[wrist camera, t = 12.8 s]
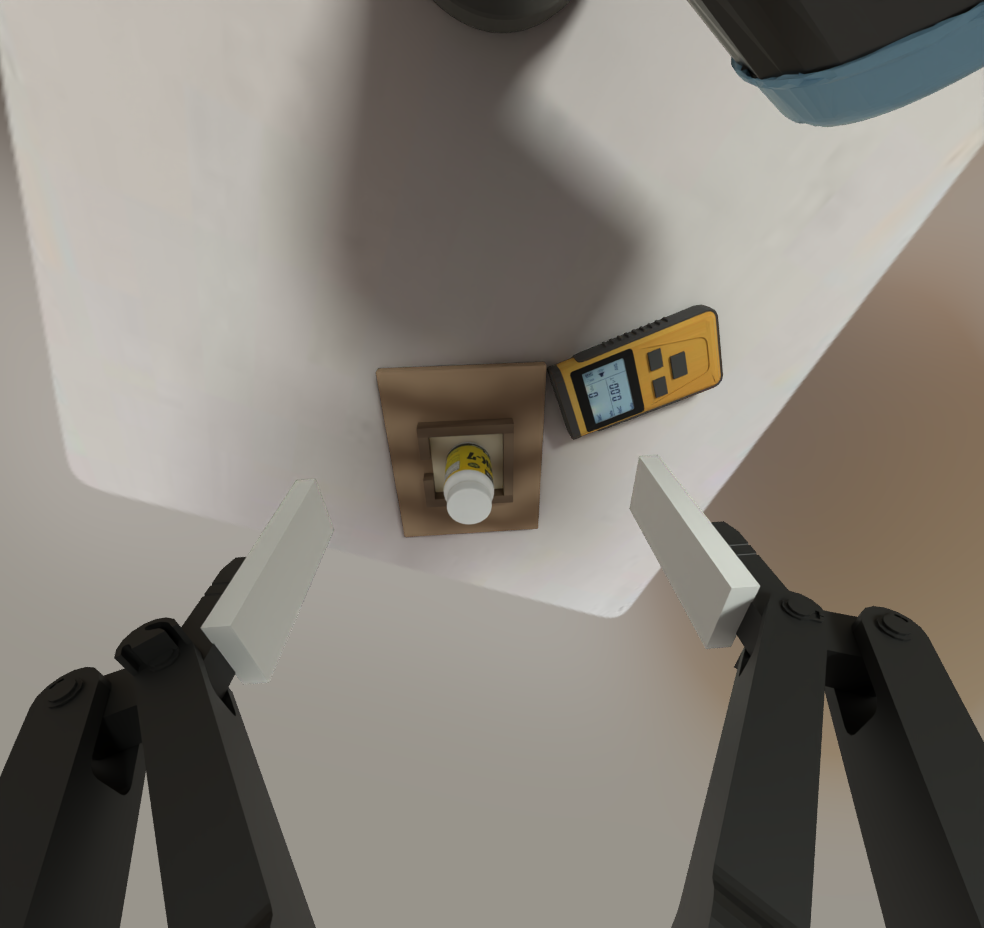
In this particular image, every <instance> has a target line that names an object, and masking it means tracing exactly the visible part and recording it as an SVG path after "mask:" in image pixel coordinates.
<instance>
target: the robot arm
mask: <svg viewBox="0 0 984 928" xmlns="http://www.w3.org/2000/svg"><path fill="white" fill-rule="evenodd" d="M434 1H435V2H436V3H437V4H438V5H439V6H440V7H441V8H442V9H443V10H445V11H446V12H447V13H449V14H450V15H451V16H453V17H454V18H456V19H458V20H459V21H461V22H463V23H465V24H467V25H469V26H472V27H474V28H477V29H481V30H484V31H489V32H499V33H506V32H516V31H521V30H524V29H528V28H530V27H533V26H536V25H538V24H540V23H542V22H544V21H545V20H547V19H548V18H550V17H552V16H553V15H554V14H556V13H557V12H558V11H559V10H561V9H562V8H563V7H564V6H565V5H566V4H567V3H568V2H569V1H570V0H434ZM687 1H688V2H689V4H690V5H691V6H692V7H693V9H694V10H695V11H696V12H697V14H698V15H699V16H700V18H701V19H702V20H703V21H704V23H705V24H706V25H707V26H708V28H709V29H710V30H711V31H712V33H713V34H714V35H715V37H716V38H717V39H718V40H719V42H720V43H721V44H722V45H723V47H724V48H725V49H726V50H727V52H728V53H729V54H730V56H731V65H732V67H733V68H734V70H735V71H736V73H737V74H738V76H740V77H741V78H742V79H743V80H744V81H745V82H748V83H750V84H752V85H755V86H757V87H758V88H759V89H760V90H761V91H762V92H763V93H764V94H765V95H766V97H767V98H768V99H769V100H770V101H771V102H772V103H773V104H774V105H775V106H776V108H777V109H778V110H779V111H780V112H781V113H782V114H783V115H784V116H785V117H787V118H788V119H790V120H792V121H794V122H796V123H806V124H810V125H813V126H822V127H833V126H840V125H846V124H851V123H856V122H860V121H864V120H867V119H870V118H873V117H877V116H879V115H882V114H885V113H888V112H891V111H893V110H896V109H899V108H901V107H904V106H906V105H908V104H911V103H913V102H915V101H917V100H920V99H922V98H924V97H926V96H928V95H930V94H933V93H935V92H937V91H939V90H941V89H943V88H945V87H947V86H949V85H951V84H953V83H955V82H956V81H958V80H960V79H962V78H964V77H966V76H968V75H970V74H971V73H973V72H975V71H977V70H979V69H981V68H982V67H984V0H687ZM630 511H631V512H632V514H633V516H634V518H635V520H636V522H637V523H638V525H639V527H640V529H641V531H642V533H643V534H644V536H645V538H646V540H647V542H648V544H649V545H650V547H651V549H652V551H653V553H654V555H655V556H656V558H657V560H658V562H659V564H660V566H661V567H662V569H663V571H664V573H665V575H666V577H667V578H668V580H669V582H670V584H671V586H672V587H673V589H674V591H675V593H676V595H677V597H678V599H679V601H680V602H681V604H682V606H683V608H684V610H685V611H686V613H687V615H688V617H689V619H690V621H691V623H692V624H693V626H694V628H695V630H696V632H697V634H698V635H699V637H700V639H701V641H702V643H703V645H704V646H705V648H706V649H709V648H723V647H731V646H732V644H733V641H734V639H735V637H736V635H737V636H738V637H739V639H740V640H741V642H742V644H743V645H744V649H743V651H742V653H741V655H740V656H739V659H738V660H737V662H736V664H735V666H734V667H735V668H736V669H737V673H736V677H735V681H734V685H733V689H732V693H731V697H730V702H729V705H728V710H727V714H726V718H725V722H724V726H723V730H722V734H721V738H720V742H719V746H718V751H717V755H716V758H715V763H714V767H713V771H712V775H711V779H710V783H709V787H708V791H707V795H706V799H705V803H704V807H703V811H702V816H701V820H700V824H699V828H698V832H697V836H696V841H695V844H694V848H693V852H692V857H691V860H690V864H689V869H688V873H687V877H686V881H685V885H684V889H683V893H682V897H681V901H680V905H679V908H678V912H677V914H676V917H675V920H674V922H673V924H672V927H671V928H810V922H811V906H812V888H813V873H814V856H815V840H816V823H817V807H818V790H819V774H820V757H821V740H822V724H823V707H824V691H825V694H826V698H827V702H828V705H829V709H830V712H831V717H832V721H833V725H834V728H835V732H836V736H837V740H838V744H839V748H840V751H841V756H842V760H843V763H844V767H845V771H846V775H847V779H848V783H849V786H850V790H851V794H852V798H853V802H854V806H855V809H856V813H857V817H858V821H859V825H860V829H861V833H862V837H863V841H864V844H865V848H866V852H867V856H868V860H869V864H870V868H871V872H872V875H873V879H874V883H875V887H876V891H877V894H878V898H879V902H880V906H881V910H882V914H883V918H884V921H885V926H886V928H984V742H983V740H982V738H981V736H980V734H979V732H978V730H977V728H976V727H975V725H974V723H973V721H972V719H971V717H970V715H969V713H968V711H967V709H966V708H965V706H964V704H963V702H962V700H961V698H960V696H959V694H958V692H957V691H956V689H955V687H954V685H953V683H952V681H951V679H950V677H949V675H948V673H947V672H946V670H945V668H944V666H943V664H942V662H941V660H940V658H939V656H938V654H937V653H936V651H935V649H934V647H933V645H932V643H931V641H930V639H929V637H928V636H927V635H926V633H925V632H924V631H923V630H922V628H921V627H920V626H918V625H917V624H916V623H915V622H913V621H912V620H911V619H909V618H907V617H906V616H904V615H902V614H900V613H898V612H896V611H893V610H890V609H887V608H884V607H876V606H872V607H868V608H865V609H864V610H863V611H862V612H861V614H860V615H859V616H858V617H855V616H849V615H844V614H839V613H833V612H828V611H824V610H822V608H821V607H820V606H819V605H818V604H816V603H815V602H814V601H813V600H811V599H809V598H807V597H805V596H803V595H802V594H799V593H795V592H792V591H789V590H788V589H787V588H786V587H785V586H784V585H783V583H782V582H781V581H780V580H779V579H778V577H777V576H776V575H775V574H774V573H773V572H772V570H771V569H770V568H769V567H768V566H767V564H766V563H765V562H764V561H763V560H762V559H761V557H760V556H759V555H756V551H755V550H754V549H753V548H752V547H751V546H750V545H748V542H747V541H746V540H745V539H744V537H743V536H742V535H741V534H740V533H739V532H738V531H737V530H736V529H734V528H733V527H731V526H730V525H728V524H727V523H725V522H724V521H723V522H710V521H709V520H708V518H707V517H706V516H705V515H704V513H703V512H702V511H701V510H700V508H699V507H698V506H697V504H696V503H695V502H694V501H693V499H692V498H691V497H690V495H689V494H688V493H687V492H686V490H685V489H684V488H683V487H682V485H681V484H680V483H679V481H678V480H677V479H676V478H675V476H674V475H673V474H672V472H671V471H670V470H669V469H668V467H667V466H666V465H665V464H664V462H663V461H662V460H661V458H660V457H659V456H658V455H650V456H639V460H638V465H637V471H636V476H635V482H634V487H633V493H632V498H631V504H630ZM333 531H334V529H333V526H332V523H331V520H330V518H329V515H328V512H327V509H326V507H325V504H324V501H323V498H322V496H321V493H320V490H319V487H318V484H317V482H316V479H306V480H296V481H295V483H294V485H293V486H292V488H291V489H290V491H289V492H288V494H287V495H286V497H285V498H284V500H283V502H282V503H281V505H280V506H279V508H278V509H277V511H276V512H275V514H274V515H273V517H272V519H271V520H270V522H269V523H268V525H267V526H266V528H265V529H264V531H263V532H262V534H261V535H260V537H259V539H258V540H257V542H256V543H255V545H254V546H253V548H252V550H251V551H250V553H249V554H248V556H247V557H238V558H235V559H234V560H232V561H231V562H230V563H229V564H228V565H226V566H225V567H224V568H223V569H222V570H221V571H220V572H219V574H218V575H217V577H216V578H215V580H214V581H213V583H212V586H210V587H209V588H208V590H207V591H206V593H205V596H204V597H202V598H201V600H200V601H199V603H198V604H197V606H196V607H195V608H194V610H193V611H192V613H191V614H190V616H189V617H188V619H187V620H186V621H185V623H184V624H183V626H182V627H180V626H179V624H178V623H177V622H176V621H175V619H171V618H160V619H155V620H153V621H150V622H148V623H145V624H143V625H142V626H140V627H139V628H137V629H136V630H134V631H132V632H131V633H130V634H129V635H128V636H127V637H126V638H125V639H124V640H123V641H122V642H121V643H120V645H119V646H118V648H117V649H116V653H115V657H114V658H115V659H116V660H117V661H118V662H119V663H120V664H121V665H122V666H123V667H124V668H125V669H122V670H119V671H116V672H113V673H110V674H107V675H104V676H103V675H102V674H101V673H100V672H99V671H98V670H96V669H95V668H93V667H84V668H80V669H77V670H74V671H71V672H69V673H67V674H66V675H63V676H62V677H60V678H58V679H57V680H56V681H54V682H53V683H51V684H50V685H49V686H47V687H46V688H45V689H44V690H43V691H42V692H41V693H40V694H39V695H38V696H37V697H36V699H35V700H34V702H33V704H32V705H31V707H30V709H29V711H28V713H27V716H26V718H25V721H24V723H23V725H22V727H21V730H20V732H19V734H18V736H17V739H16V741H15V744H14V746H13V748H12V751H11V753H10V755H9V758H8V760H7V762H6V764H5V767H4V769H3V771H2V774H1V776H0V928H120V923H121V917H122V911H123V905H124V899H125V893H126V887H127V881H128V875H129V869H130V863H131V857H132V851H133V845H134V839H135V833H136V827H137V821H138V815H139V809H140V803H141V797H142V790H143V785H144V778H145V773H147V780H148V787H149V794H150V801H151V809H152V816H153V823H154V830H155V837H156V844H157V852H158V858H159V866H160V872H161V880H162V887H163V894H164V901H165V909H166V915H167V923H168V928H316V927H315V924H314V921H313V919H312V916H311V913H310V910H309V907H308V904H307V902H306V899H305V896H304V893H303V890H302V887H301V885H300V882H299V879H298V876H297V873H296V870H295V868H294V865H293V862H292V859H291V856H290V854H289V851H288V848H287V845H286V843H285V839H284V837H283V834H282V831H281V828H280V825H279V822H278V820H277V817H276V814H275V811H274V808H273V806H272V803H271V800H270V797H269V794H268V791H267V789H266V786H265V783H264V780H263V777H262V774H261V772H260V769H259V766H258V764H257V760H256V757H255V755H254V752H253V749H252V746H251V743H250V740H249V738H248V735H247V732H246V729H245V726H244V723H243V721H242V718H241V715H240V712H239V709H238V706H237V704H236V701H235V698H234V695H233V692H232V691H231V690H230V689H229V685H230V683H231V681H232V679H233V677H234V675H236V676H237V677H238V678H239V680H240V681H241V682H242V684H256V683H269V681H270V679H271V677H272V674H273V672H274V669H275V667H276V665H277V662H278V660H279V658H280V655H281V653H282V651H283V648H284V646H285V644H286V641H287V639H288V637H289V634H290V632H291V630H292V627H293V625H294V623H295V620H296V618H297V616H298V613H299V611H300V608H301V606H302V604H303V602H304V599H305V597H306V595H307V592H308V590H309V587H310V585H311V583H312V580H313V578H314V576H315V573H316V571H317V569H318V566H319V564H320V562H321V559H322V557H323V555H324V552H325V550H326V548H327V545H328V543H329V541H330V538H331V536H332V534H333Z"/></svg>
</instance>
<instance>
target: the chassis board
mask: <svg viewBox="0 0 984 928" xmlns="http://www.w3.org/2000/svg"><path fill="white" fill-rule="evenodd" d="M546 366H547V365H546V364H545V362H527V363H502V364H478V365H453V366H429V367H405V368H380V369H378V370H377V371H376V376H377V382H378V387H379V393H380V399H381V404H382V410H383V416H384V421H385V427H386V433H387V439H388V444H389V450H390V456H391V461H392V467H393V473H394V478H395V484H396V490H397V495H398V501H399V507H400V512H401V518H402V524H403V530H404V535H405V537H413V536H428V535H444V534H459V533H475V532H491V531H506V530H522V529H537V528H538V518H539V499H540V480H541V461H542V442H543V423H544V404H545V385H546ZM463 442H473V443H477V444H479V445H481V446H482V447H484V448H485V449H486V450H487V452H488V453H489V455H490V459H491V467H492V474H493V483H494V496H493V499H492V508H491V512H490V514H489V515H488V517H487V518H486V519H484V520H483V521H481V522H479V523H476V524H462V523H459V522H457V521H455V520H454V519H453V518H452V517H451V516H450V515H449V513H448V511H447V501H446V499H445V497H444V479H445V467H446V458H447V455H448V453H449V451H450V450H451V449H452V448H453V447H454V446H456V445H457V444H460V443H463Z"/></svg>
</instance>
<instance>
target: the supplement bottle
mask: <svg viewBox="0 0 984 928" xmlns="http://www.w3.org/2000/svg"><path fill="white" fill-rule="evenodd" d="M493 496H494V483H493V474H492V467H491V459H490V455H489V453H488V452H487V450H486V449H485V448H484V447H482V446H481V445H479V444H477V443H473V442H463V443H460V444H457V445H456V446H454V447H453V448H452V449H451V450H450V451H449V453H448V455H447V458H446V467H445V479H444V497H445V499H446V501H447V511H448V513H449V515H450V516H451V517H452V518H453V519H454V520H455V521H457V522H459V523H462V524H476V523H479V522H481V521H483V520H484V519H486V518H487V517H488V515H489V514H490V512H491V508H492V499H493Z"/></svg>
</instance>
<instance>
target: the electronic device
mask: <svg viewBox="0 0 984 928" xmlns="http://www.w3.org/2000/svg"><path fill="white" fill-rule="evenodd" d="M547 371H548V374H549V377H550V380H551V383H552V386H553V389H554V392H555V395H556V398H557V401H558V404H559V407H560V410H561V413H562V416H563V419H564V422H565V425H566V428H567V430H568V432H569V434H570V436H571V438H572V439H577V438H579V437H581V436H583V435H586V434H588V433H591V432H594V431H596V430H597V431H600V430H604V429H606V428H609V427H612V426H614V425H617V424H620V423H622V422H625V421H627V420H630V419H633V418H635V417H638V416H641V415H643V414H646V413H648V412H651V411H654V410H656V409H659V408H662V407H664V406H667V405H669V404H672V403H675V402H677V401H680V400H683V399H685V398H688V397H690V396H693V395H696V394H698V393H701V392H704V391H706V390H709V389H711V388H714V387H716V386H717V385H719V383H720V382H721V381H722V377H723V371H722V359H721V347H720V335H719V323H718V315H717V313H716V311H715V310H714V309H712V308H710V307H707V306H704V305H696V306H692V307H690V308H687V309H685V310H682V311H680V312H678V313H675V314H673V315H670V316H668V317H663V318H662V319H661V320H656V321H655V322H653V323H651V324H650V323H648V324H647V325H646V326H644V327H642V326H641V327H640V328H639V329H636V330H632V331H631V332H629V333H625V334H624V335H622V336H617V338H614V339H610V340H609V341H607V342H602V344H600V345H597V346H595V347H592V348H590V349H588V350H585V351H583V352H580V353H578V354H576V355H574V356H573V358H571V359H568V360H566V361H563V362H561V363H558V364H556V365H553V366H551V367H548V369H547Z"/></svg>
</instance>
